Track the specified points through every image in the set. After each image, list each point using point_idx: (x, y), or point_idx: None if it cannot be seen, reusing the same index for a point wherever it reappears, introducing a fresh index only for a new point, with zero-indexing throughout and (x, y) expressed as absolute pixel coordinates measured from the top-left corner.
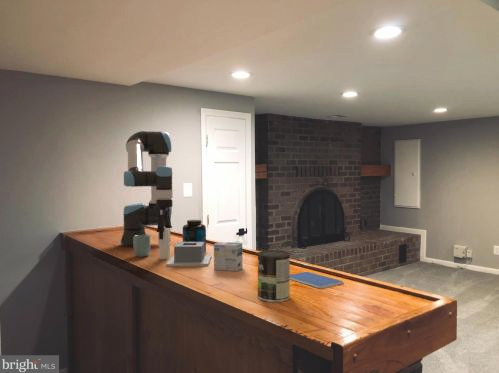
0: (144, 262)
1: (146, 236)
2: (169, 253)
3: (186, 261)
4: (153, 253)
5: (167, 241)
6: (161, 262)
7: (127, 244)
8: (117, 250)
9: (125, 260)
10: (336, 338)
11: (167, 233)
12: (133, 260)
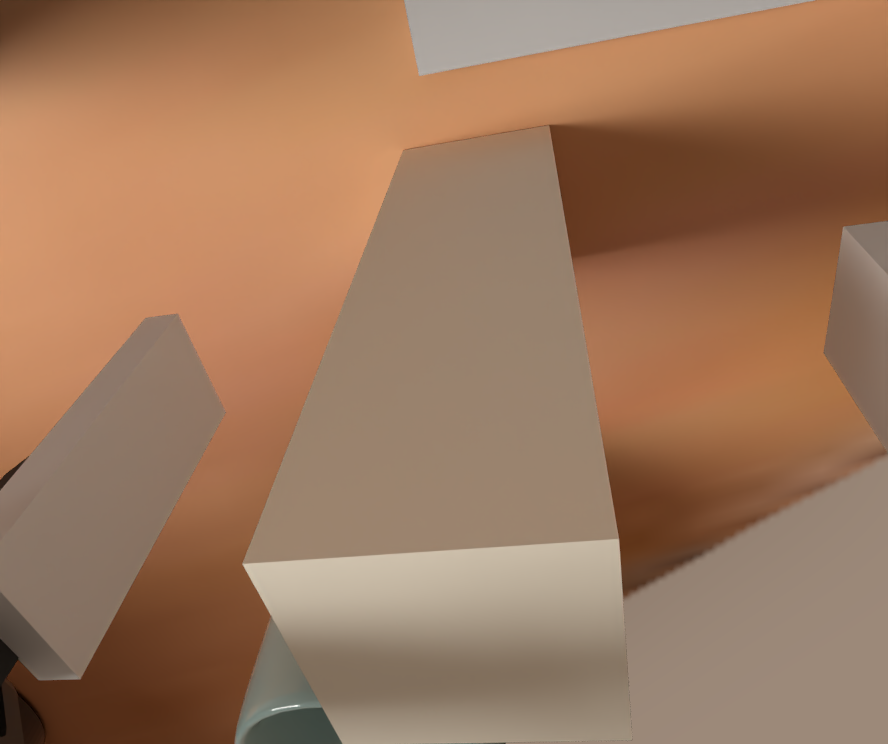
0: (789, 376)
1: (262, 722)
2: (420, 171)
3: None
4: (210, 452)
5: (572, 283)
6: (826, 140)
7: (26, 739)
8: (211, 730)
9: (652, 576)
10: None
11: (597, 427)
12: (653, 516)
